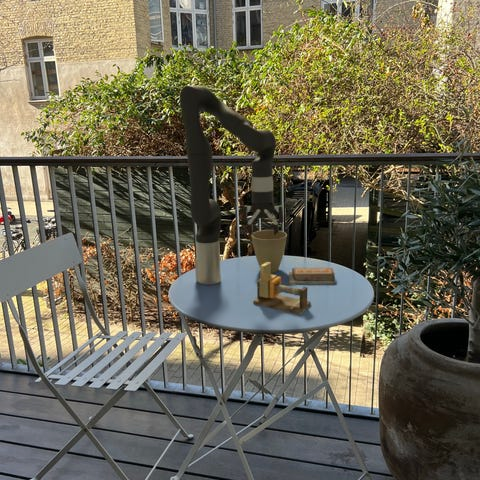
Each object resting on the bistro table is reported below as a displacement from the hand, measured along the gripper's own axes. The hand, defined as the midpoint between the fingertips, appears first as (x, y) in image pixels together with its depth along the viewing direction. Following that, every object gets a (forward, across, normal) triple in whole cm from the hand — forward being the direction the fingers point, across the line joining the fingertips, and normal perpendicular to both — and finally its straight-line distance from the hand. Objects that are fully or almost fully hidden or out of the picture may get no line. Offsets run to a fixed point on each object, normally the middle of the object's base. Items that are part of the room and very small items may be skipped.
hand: (263, 234), depth 162 cm
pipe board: (+24, -7, +7) cm, 26 cm away
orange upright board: (+21, -5, +6) cm, 22 cm away
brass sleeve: (+21, -2, +5) cm, 21 cm away
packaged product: (+24, -17, -19) cm, 35 cm away
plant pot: (+23, +1, -28) cm, 37 cm away
